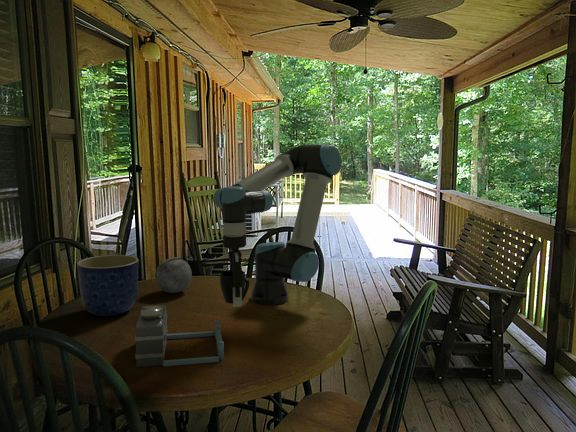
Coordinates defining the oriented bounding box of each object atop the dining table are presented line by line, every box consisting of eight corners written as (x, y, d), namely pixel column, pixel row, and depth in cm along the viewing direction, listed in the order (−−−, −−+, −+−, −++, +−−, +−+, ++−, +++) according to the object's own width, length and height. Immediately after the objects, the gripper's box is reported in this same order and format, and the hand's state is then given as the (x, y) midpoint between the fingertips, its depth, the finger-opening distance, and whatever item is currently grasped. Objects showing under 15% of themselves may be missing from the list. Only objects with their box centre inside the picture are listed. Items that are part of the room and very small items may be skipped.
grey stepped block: (167, 338, 140) (166, 298, 138) (164, 365, 122) (163, 319, 120) (142, 340, 138) (141, 299, 136) (135, 367, 120) (134, 321, 119)
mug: (237, 310, 139) (236, 280, 138) (216, 300, 148) (215, 273, 147) (258, 303, 145) (257, 275, 144) (236, 295, 154) (235, 268, 152)
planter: (78, 325, 150) (75, 270, 147) (79, 306, 168) (77, 257, 166) (142, 317, 158) (141, 264, 155) (137, 300, 176) (136, 253, 174)
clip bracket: (220, 334, 144) (219, 319, 143) (224, 361, 125) (224, 344, 124) (167, 337, 140) (166, 322, 140) (163, 366, 121) (162, 348, 121)
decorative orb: (181, 285, 197) (180, 252, 195) (198, 293, 187) (198, 258, 185) (149, 292, 187) (149, 257, 185) (166, 300, 177) (165, 263, 175)
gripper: (220, 228, 154) (222, 290, 157) (225, 242, 132) (227, 313, 135) (242, 228, 155) (243, 289, 159) (250, 241, 134) (251, 311, 137)
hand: (235, 300), depth 147 cm, fingers closed on mug, 10 cm apart
